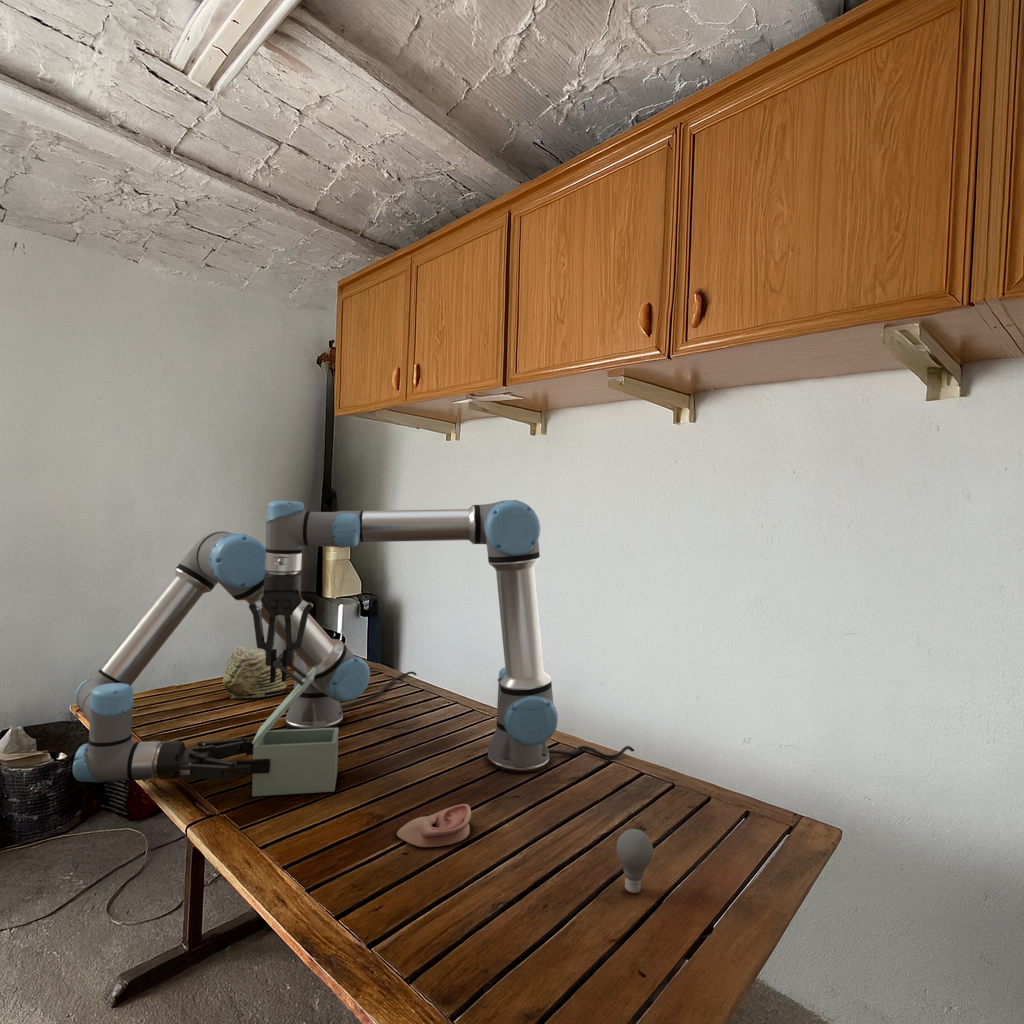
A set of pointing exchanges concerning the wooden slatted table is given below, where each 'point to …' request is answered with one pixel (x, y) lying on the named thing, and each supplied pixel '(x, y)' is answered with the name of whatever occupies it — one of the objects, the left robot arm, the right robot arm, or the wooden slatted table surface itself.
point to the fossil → (251, 675)
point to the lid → (290, 697)
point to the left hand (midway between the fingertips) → (273, 756)
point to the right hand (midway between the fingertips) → (278, 680)
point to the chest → (297, 761)
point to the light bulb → (634, 857)
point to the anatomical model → (438, 827)
